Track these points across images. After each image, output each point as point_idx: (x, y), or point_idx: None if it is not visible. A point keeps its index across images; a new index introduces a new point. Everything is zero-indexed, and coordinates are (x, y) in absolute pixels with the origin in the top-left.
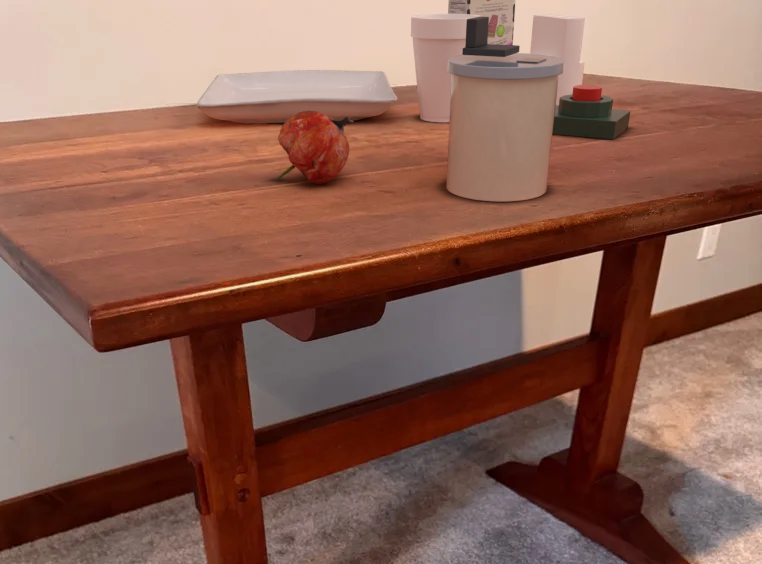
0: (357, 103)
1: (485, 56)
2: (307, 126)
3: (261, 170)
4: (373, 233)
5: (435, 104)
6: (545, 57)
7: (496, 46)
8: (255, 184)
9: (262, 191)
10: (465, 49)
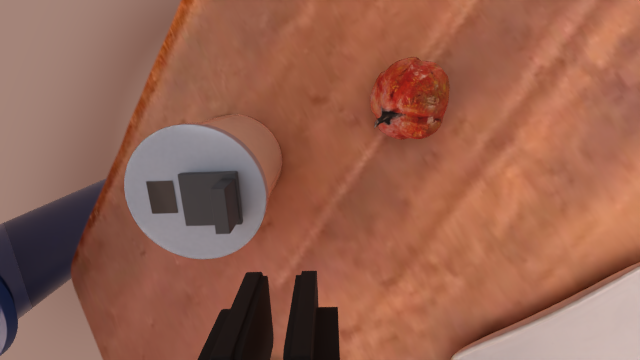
0: (488, 339)
1: None
2: (409, 76)
3: (477, 110)
4: None
5: None
6: (164, 232)
7: (205, 204)
8: (453, 58)
9: (432, 39)
10: (231, 172)
